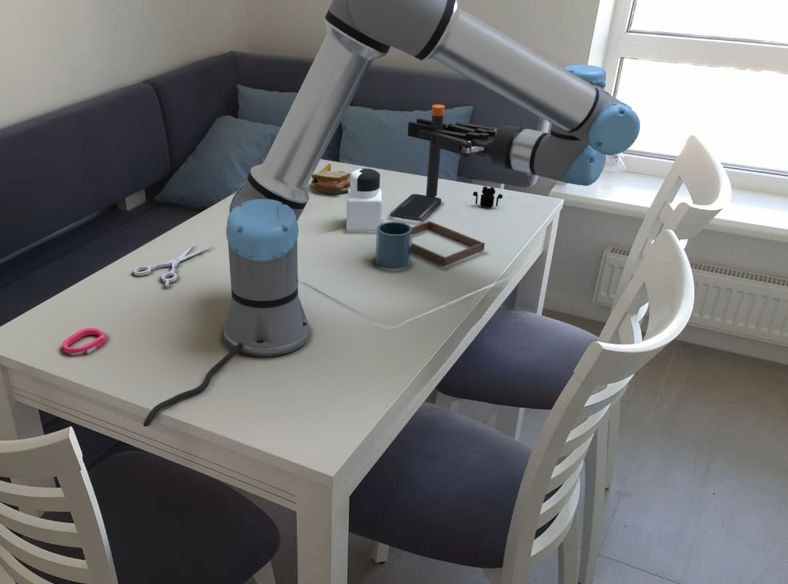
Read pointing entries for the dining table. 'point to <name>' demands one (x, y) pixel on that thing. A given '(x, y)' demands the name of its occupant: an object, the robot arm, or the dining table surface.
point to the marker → (434, 153)
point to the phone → (416, 207)
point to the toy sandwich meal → (331, 181)
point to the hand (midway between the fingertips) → (413, 127)
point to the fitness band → (88, 347)
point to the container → (364, 200)
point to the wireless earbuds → (487, 197)
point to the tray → (475, 244)
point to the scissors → (170, 263)
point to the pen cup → (393, 244)
